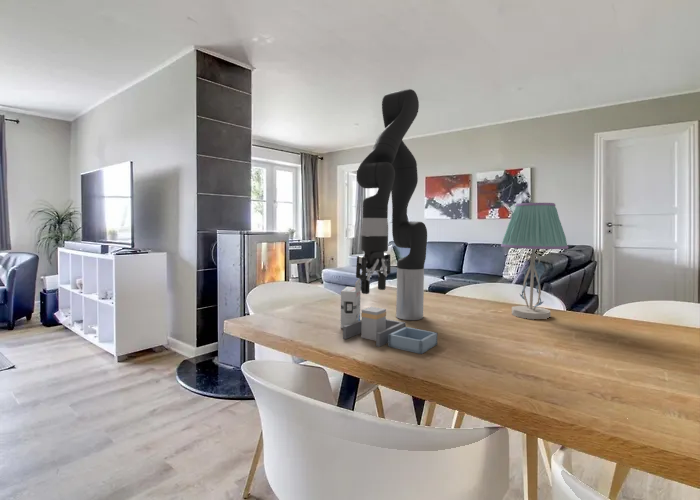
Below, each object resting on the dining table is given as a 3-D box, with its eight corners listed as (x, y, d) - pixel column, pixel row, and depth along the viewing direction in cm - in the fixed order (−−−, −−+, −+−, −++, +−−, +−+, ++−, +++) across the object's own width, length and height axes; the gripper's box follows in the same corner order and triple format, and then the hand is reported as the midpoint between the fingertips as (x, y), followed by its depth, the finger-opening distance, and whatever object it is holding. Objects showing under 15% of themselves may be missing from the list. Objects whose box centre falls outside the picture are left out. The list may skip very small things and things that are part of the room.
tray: (405, 337, 107) (405, 326, 107) (437, 344, 101) (437, 332, 101) (388, 346, 99) (388, 334, 99) (421, 354, 94) (421, 341, 93)
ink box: (345, 321, 125) (346, 277, 124) (360, 322, 124) (361, 277, 123) (340, 328, 116) (340, 281, 115) (355, 329, 115) (356, 281, 114)
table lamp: (578, 323, 125) (584, 202, 122) (512, 322, 125) (517, 201, 122) (545, 308, 146) (550, 205, 144) (489, 308, 146) (493, 205, 144)
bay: (371, 327, 118) (371, 316, 117) (405, 334, 111) (405, 322, 110) (343, 338, 106) (343, 326, 106) (379, 346, 99) (379, 333, 99)
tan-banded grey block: (370, 333, 111) (371, 306, 111) (385, 336, 108) (386, 309, 108) (361, 337, 107) (361, 309, 107) (376, 340, 104) (376, 312, 104)
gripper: (377, 234, 114) (376, 287, 115) (348, 234, 102) (348, 293, 103) (398, 234, 109) (397, 289, 110) (372, 235, 98) (371, 296, 99)
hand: (373, 291), depth 107 cm, fingers open, 8 cm apart
